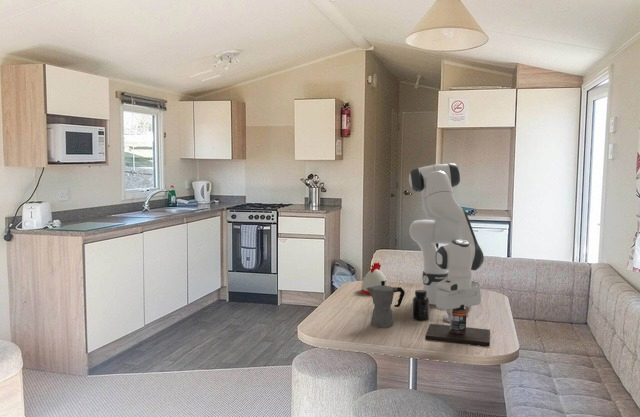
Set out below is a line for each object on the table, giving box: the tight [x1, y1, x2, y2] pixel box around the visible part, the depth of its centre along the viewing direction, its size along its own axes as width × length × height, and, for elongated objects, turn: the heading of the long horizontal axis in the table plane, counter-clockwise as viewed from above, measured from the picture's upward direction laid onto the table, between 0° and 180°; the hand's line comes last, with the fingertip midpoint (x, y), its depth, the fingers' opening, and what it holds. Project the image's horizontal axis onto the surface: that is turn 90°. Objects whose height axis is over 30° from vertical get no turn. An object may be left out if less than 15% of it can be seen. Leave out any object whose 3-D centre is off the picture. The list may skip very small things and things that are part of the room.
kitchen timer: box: [361, 262, 389, 296], centre depth 274 cm, size 14×14×15 cm
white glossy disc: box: [443, 314, 450, 323], centre depth 226 cm, size 8×8×1 cm
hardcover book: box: [425, 323, 491, 347], centre depth 205 cm, size 16×23×2 cm
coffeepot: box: [367, 281, 406, 328], centre depth 219 cm, size 15×9×18 cm, turn 82°
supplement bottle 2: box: [449, 304, 468, 334], centre depth 204 cm, size 6×6×11 cm
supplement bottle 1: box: [412, 289, 430, 322], centre depth 227 cm, size 7×7×12 cm
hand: (458, 318), depth 204 cm, fingers closed on supplement bottle 2, 6 cm apart
